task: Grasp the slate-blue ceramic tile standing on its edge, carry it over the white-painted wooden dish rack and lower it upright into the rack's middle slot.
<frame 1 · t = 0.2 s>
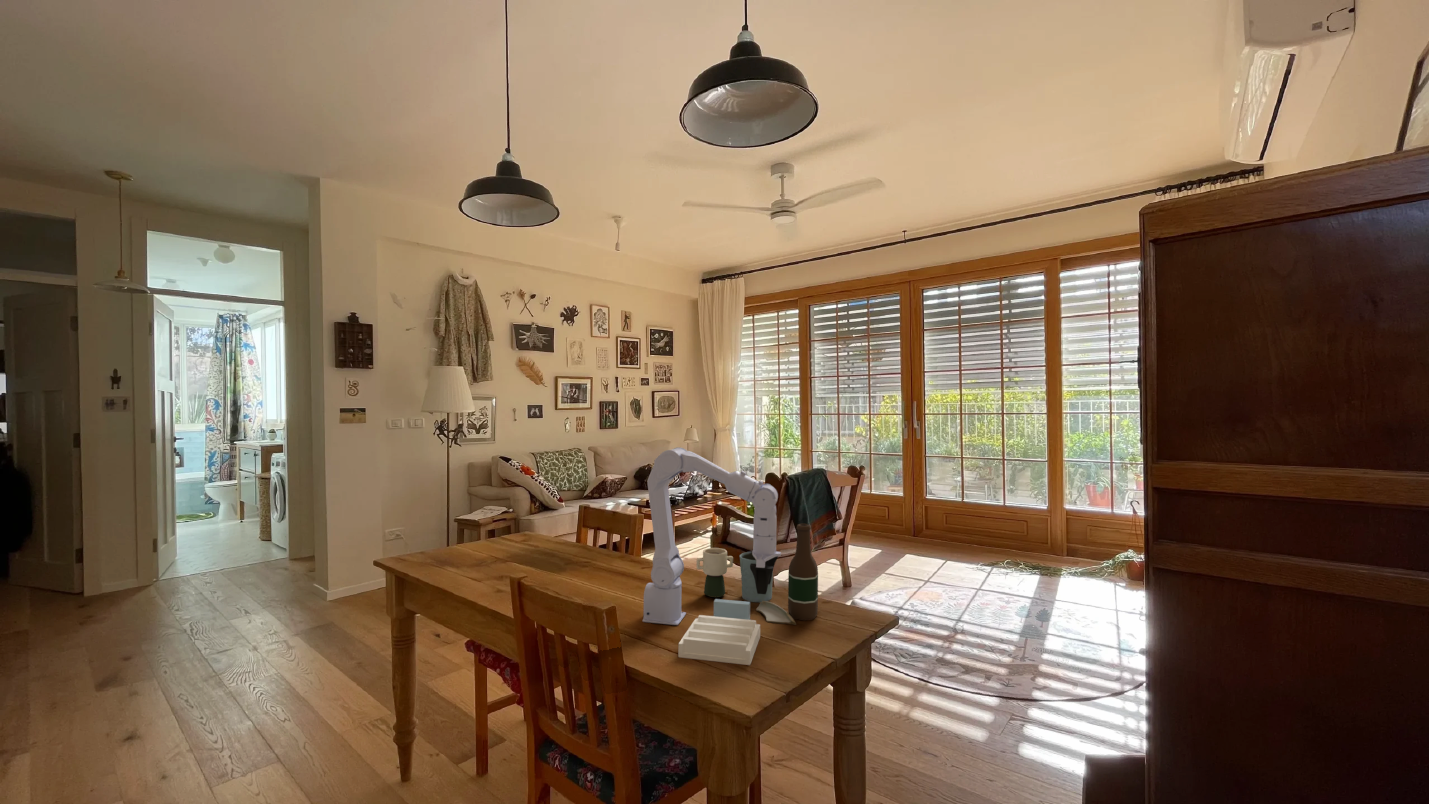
hand: (763, 588, 142), 10 cm above the table, fingers open, 7 cm apart
beer bottle: (802, 616, 151), on the table
rack: (721, 646, 131), on the table
ceramic fragment: (774, 619, 150), on the table
cream and green mug: (714, 596, 166), on the table
tile: (731, 625, 144), on the table
light blue cup: (756, 597, 165), on the table
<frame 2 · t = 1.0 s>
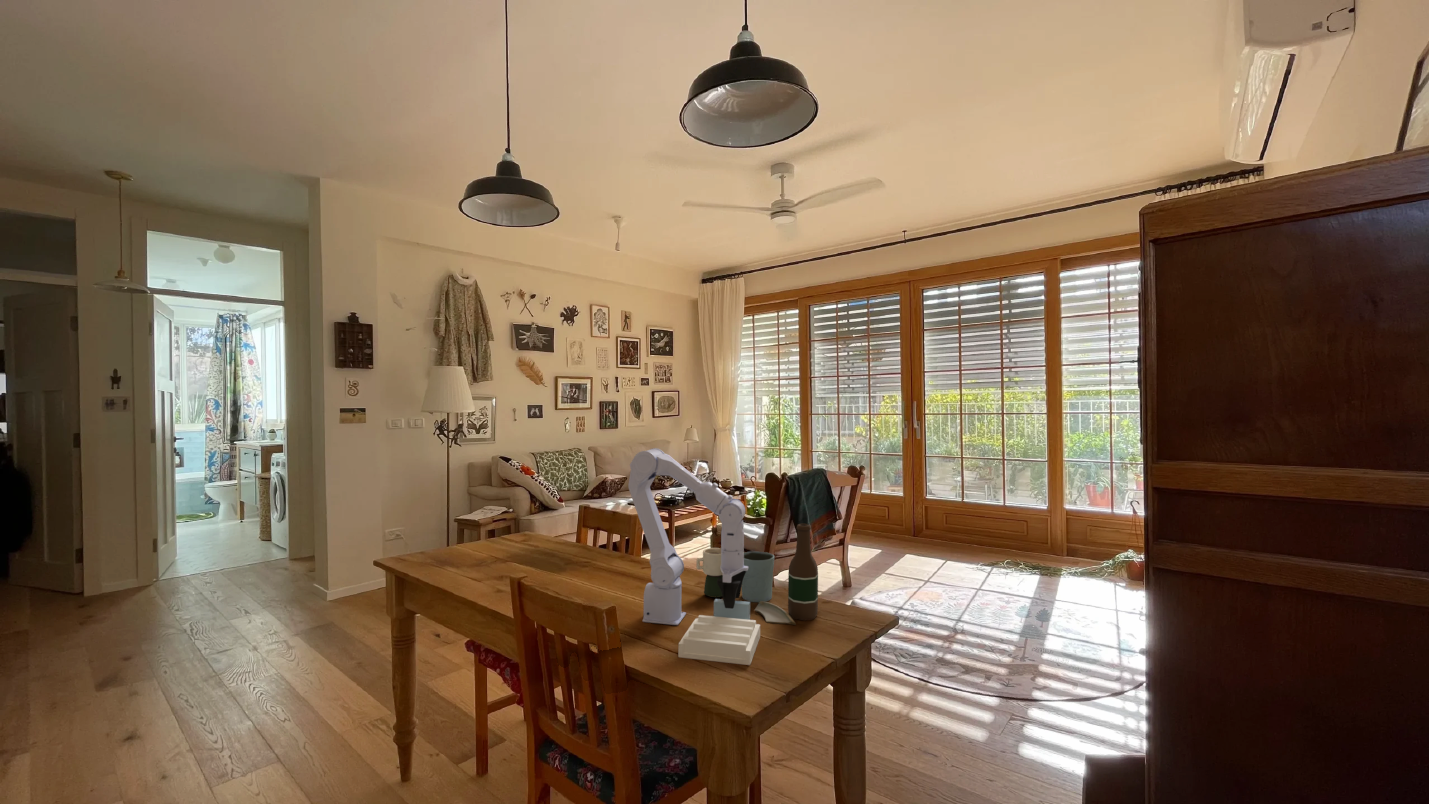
hand: (732, 602, 144), 6 cm above the table, fingers open, 7 cm apart
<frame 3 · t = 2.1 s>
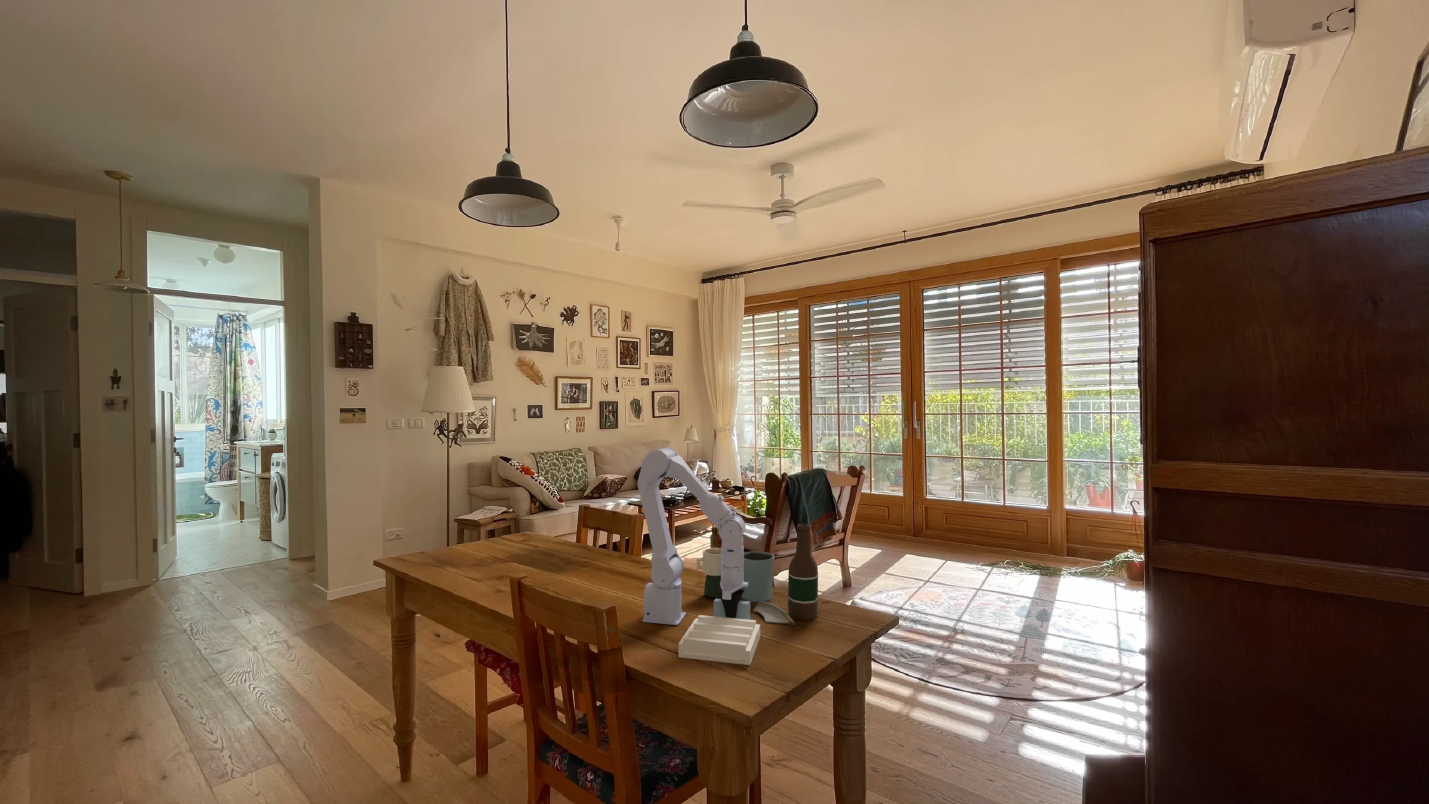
hand: (731, 618, 144), 2 cm above the table, fingers closed on tile, 2 cm apart
tile: (731, 625, 144), on the table, touching gripper
everything else where it was.
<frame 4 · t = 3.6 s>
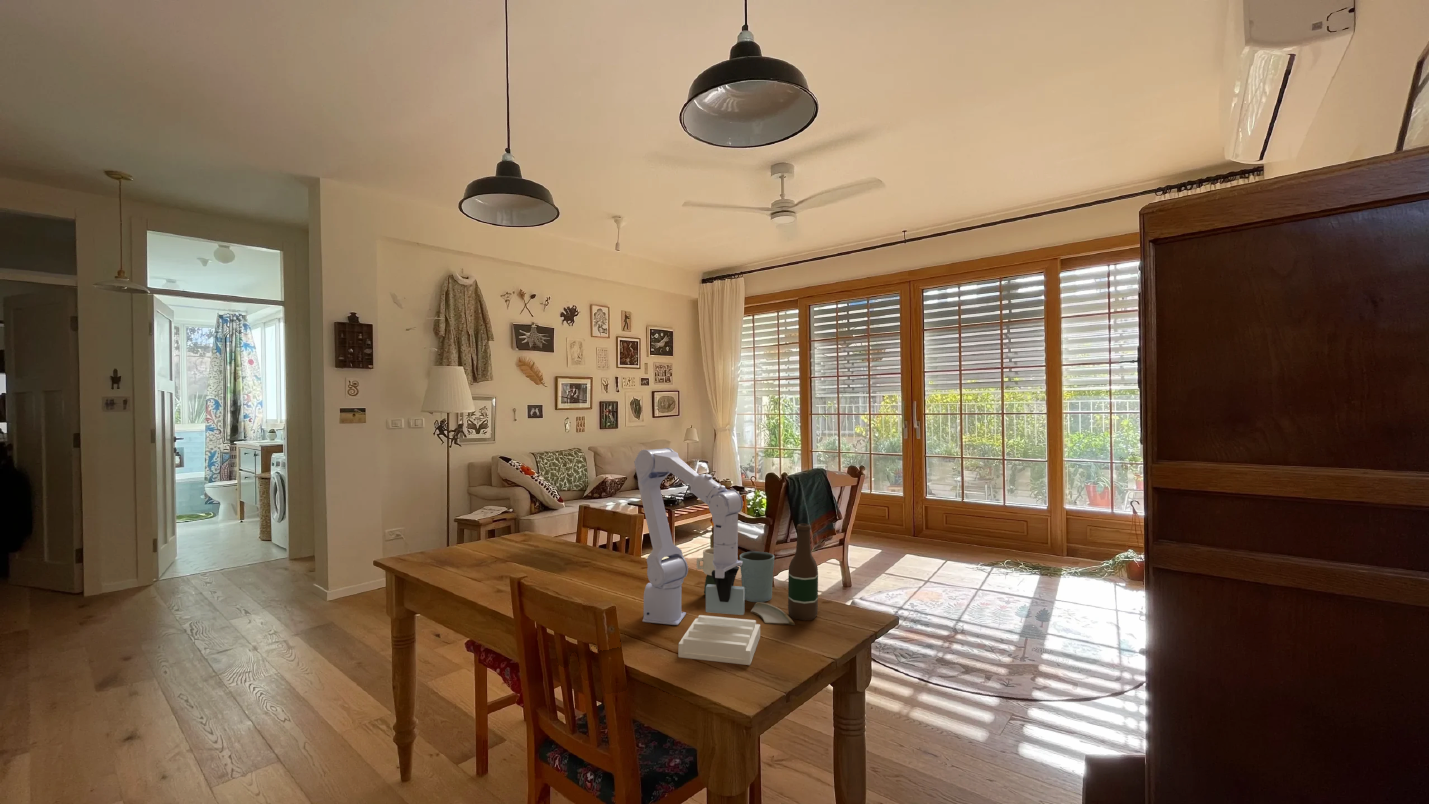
hand: (725, 599, 135), 9 cm above the table, fingers closed on tile
tile: (725, 612, 135), point 6 cm above the table, touching gripper
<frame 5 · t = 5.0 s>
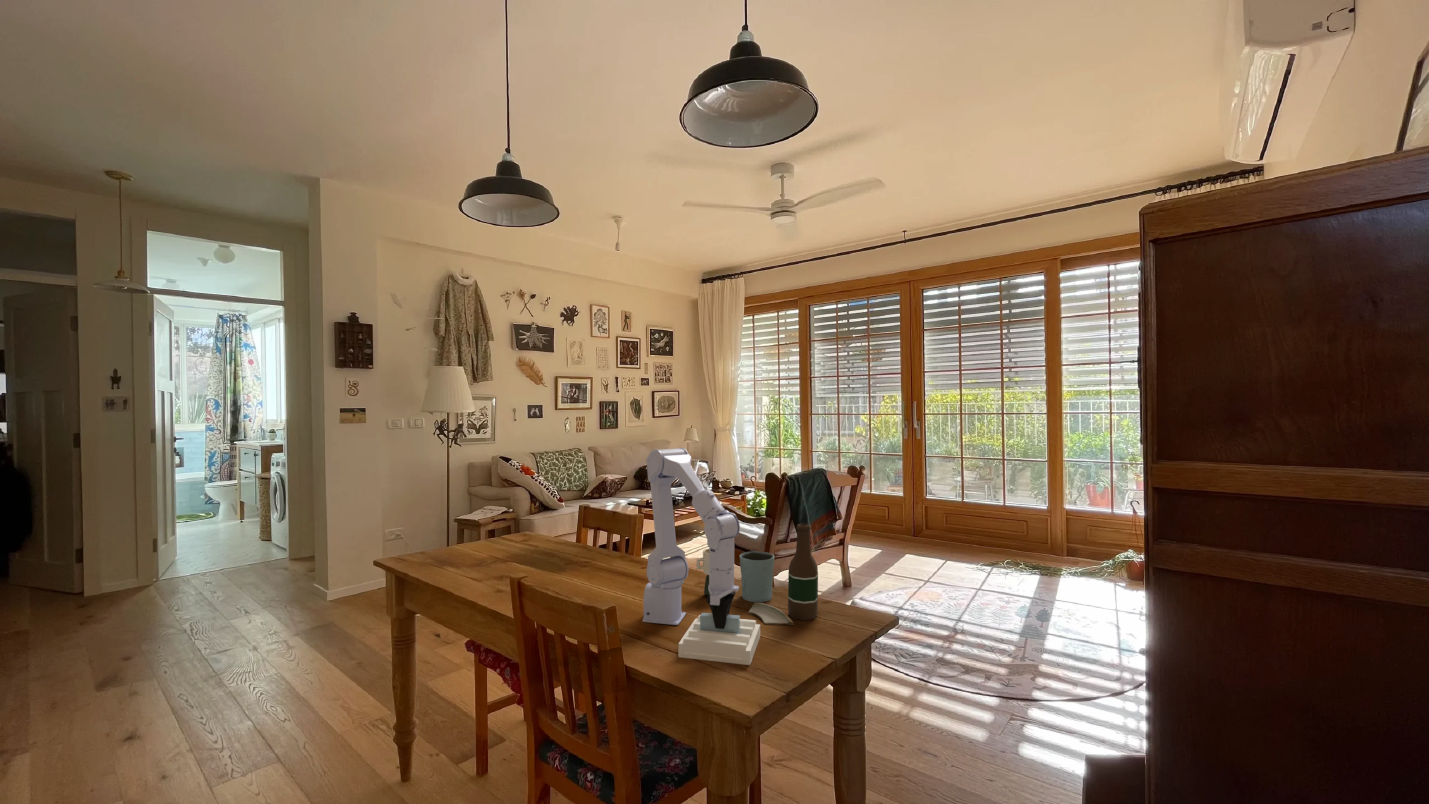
hand: (721, 625, 131), 5 cm above the table, fingers closed on tile, 2 cm apart
tile: (720, 641, 131), point 1 cm above the table, touching gripper
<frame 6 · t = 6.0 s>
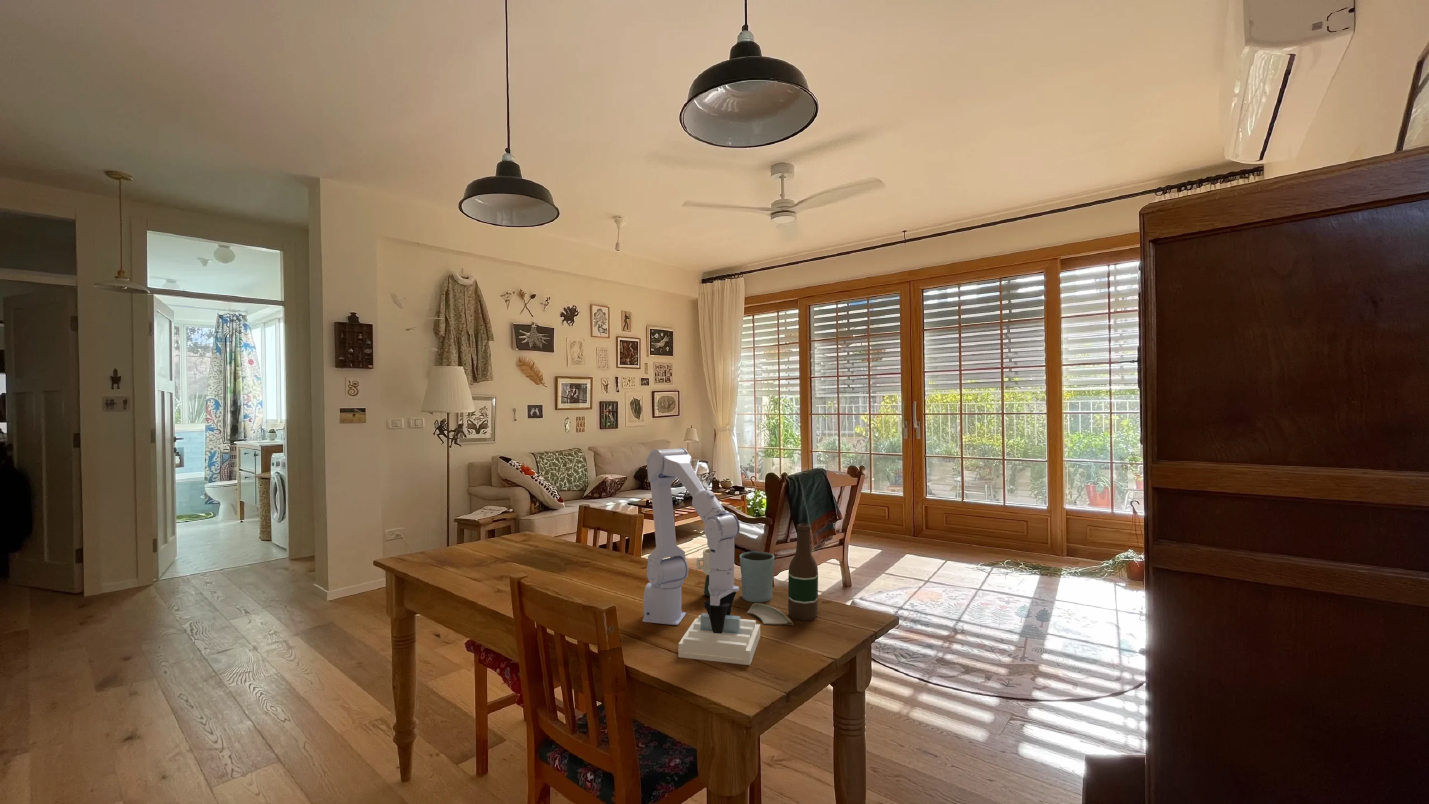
hand: (721, 626, 131), 5 cm above the table, fingers open, 7 cm apart
tile: (720, 642, 131), point 1 cm above the table, touching rack
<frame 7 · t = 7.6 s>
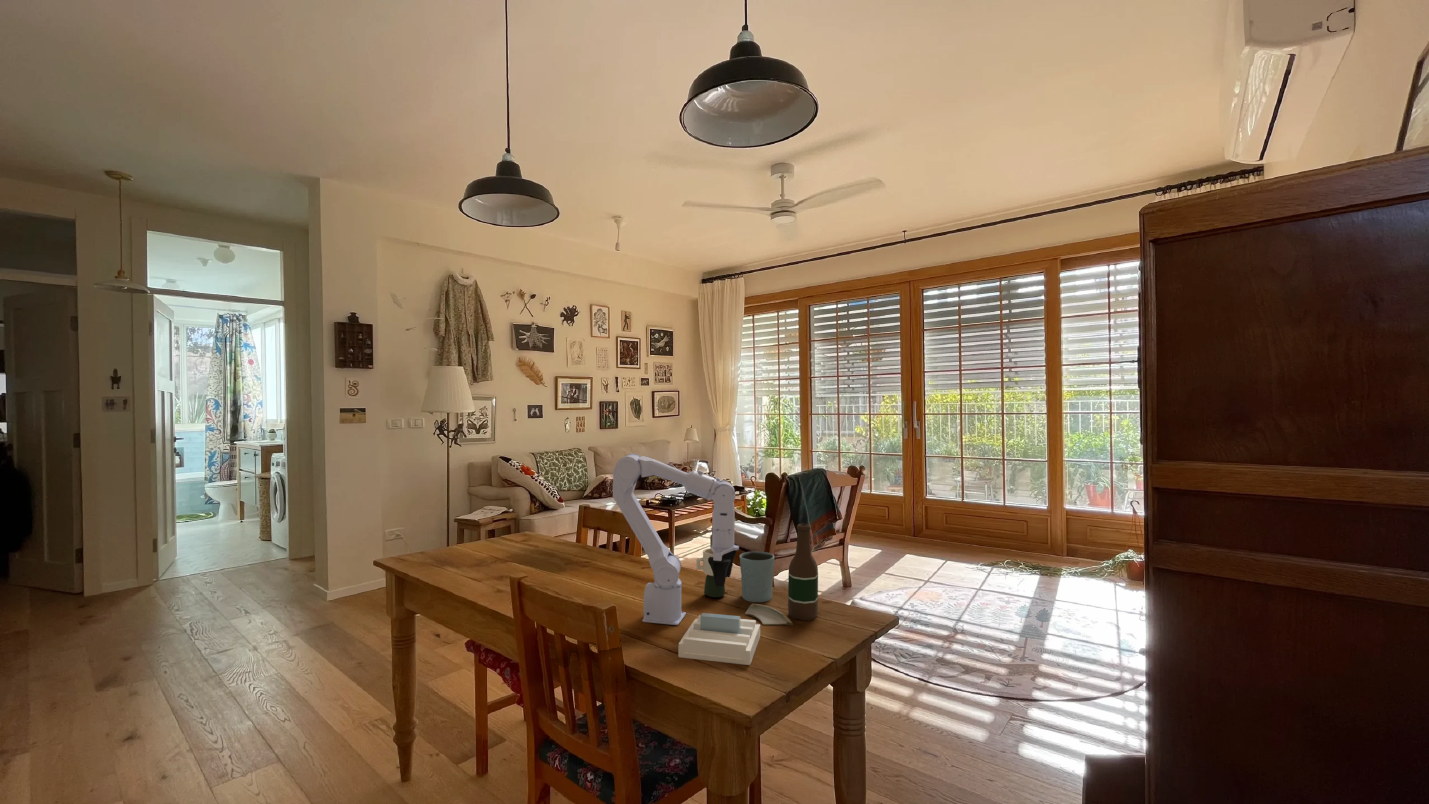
hand: (723, 581, 148), 10 cm above the table, fingers open, 7 cm apart
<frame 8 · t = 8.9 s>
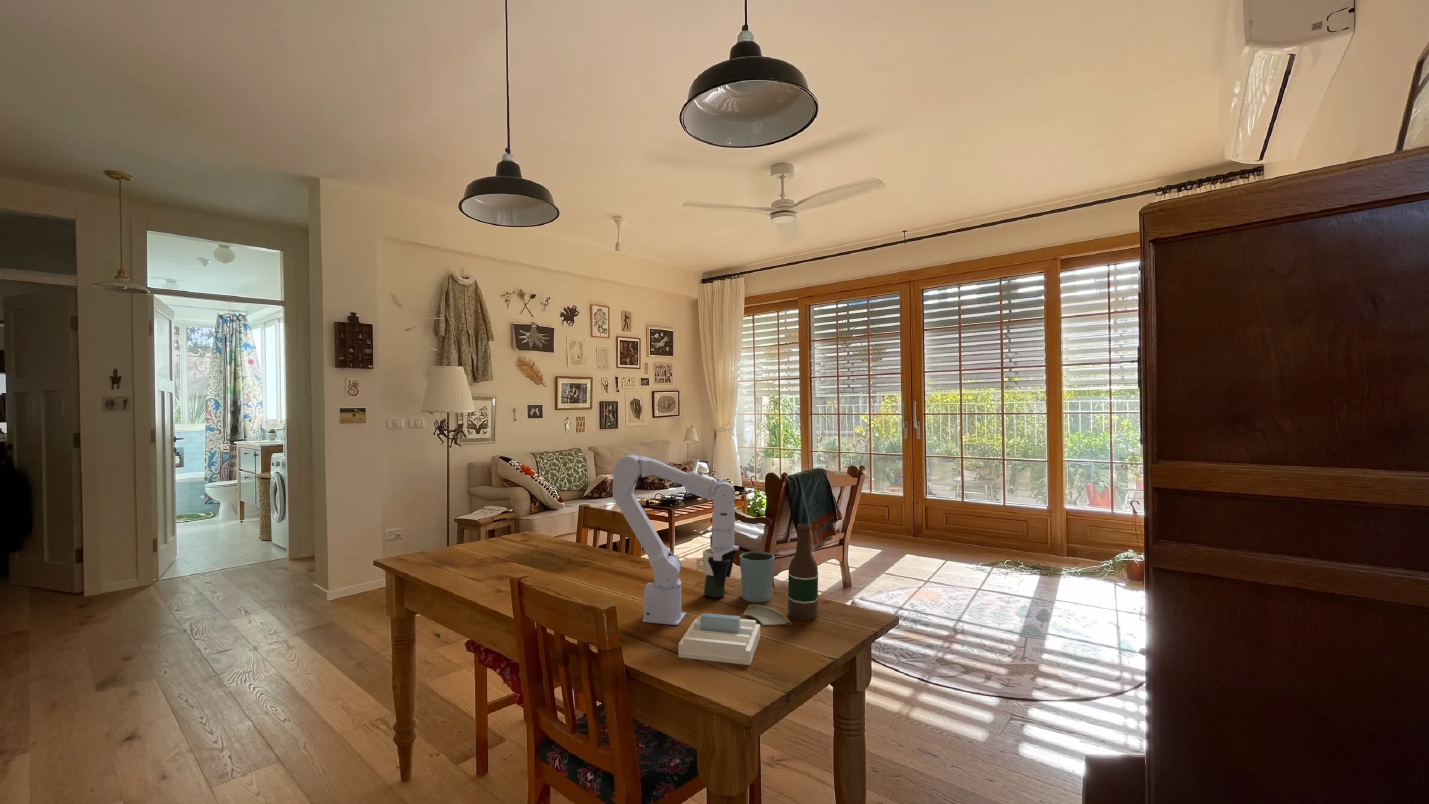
hand: (723, 581, 148), 10 cm above the table, fingers open, 7 cm apart
at the end: tile 0.2 cm off-centre on the rack, point 1.0 cm above the rack's base; tile tilted 0°; the gripper is holding nothing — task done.
